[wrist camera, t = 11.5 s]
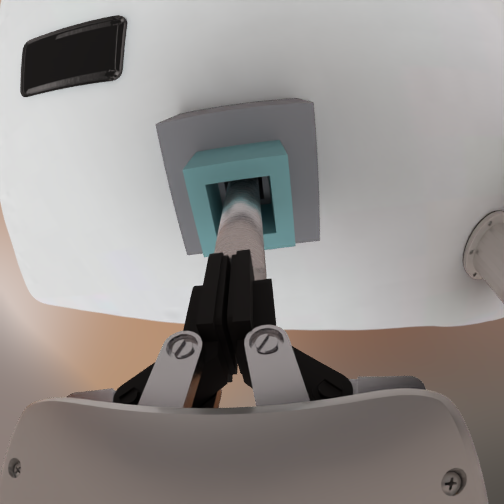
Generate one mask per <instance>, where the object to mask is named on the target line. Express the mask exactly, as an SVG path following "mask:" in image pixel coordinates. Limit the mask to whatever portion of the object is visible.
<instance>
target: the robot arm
mask: <svg viewBox="0 0 504 504" xmlns="http://www.w3.org/2000/svg"><path fill="white" fill-rule="evenodd" d="M464 268H465V270H466V272H467V273H468V275H469V276H470V277H471V278H473V279H484V280H485V281H486V282H487V284H488V285H489V286H490V287H491V288H492V290H493V291H494V292H495V293H496V295H497V296H498V297H499V299H500V300H501V301H502V303H503V304H504V212H503V211H496V212H493V213H491V214H490V215H488V216H487V217H485V218H484V219H483V220H482V221H481V222H480V223H479V224H478V225H477V227H476V228H475V230H474V231H473V233H472V234H471V236H470V238H469V240H468V243H467V245H466V249H465V252H464ZM237 364H238V365H237ZM237 366H239V369H240V373H241V374H242V375H243V379H244V382H245V383H246V384H247V385H248V386H250V387H251V388H252V389H253V392H254V397H255V401H256V407H239V408H219V403H220V399H221V394H222V390H221V388H223V387H224V386H225V385H226V384H227V382H232V375H233V374H237ZM0 504H488V498H487V493H486V489H485V483H484V479H483V475H482V471H481V467H480V463H479V459H478V456H477V453H476V450H475V447H474V444H473V441H472V438H471V435H470V433H469V431H468V428H467V426H466V423H465V421H464V419H463V417H462V415H461V414H460V412H459V410H458V408H457V407H456V406H455V405H454V403H453V402H452V401H451V400H450V399H449V398H448V397H446V396H445V395H443V394H440V393H437V392H433V391H430V390H426V389H425V386H424V384H423V383H422V381H421V380H419V379H418V378H416V377H413V376H391V377H358V379H348V378H346V377H345V376H344V375H342V374H341V373H339V372H337V371H335V370H333V369H331V368H330V367H328V366H326V365H324V364H322V363H321V362H319V361H317V360H315V359H313V358H312V357H310V356H308V355H306V354H305V353H303V352H301V351H299V350H298V349H296V348H294V347H293V346H291V343H290V340H289V337H288V335H287V333H286V332H285V331H284V330H283V329H282V328H280V327H278V326H276V318H275V308H274V298H273V289H272V280H271V279H263V280H255V278H254V271H253V265H252V258H251V252H250V249H248V250H239V251H237V252H236V254H234V255H232V259H231V265H230V260H229V256H228V255H225V256H224V254H223V252H221V253H212V254H209V258H208V263H207V268H206V273H205V278H204V283H203V285H202V286H194V287H193V290H192V294H191V298H190V303H189V307H188V312H187V316H186V321H185V325H184V330H183V331H181V332H177V333H175V334H173V335H171V336H170V337H169V338H167V339H166V341H165V342H164V344H163V346H162V348H161V350H160V353H159V355H158V358H157V360H156V362H155V363H153V364H152V365H150V366H149V367H148V368H146V369H145V370H143V371H142V372H140V373H139V374H137V375H136V376H135V377H133V378H132V379H130V380H129V381H127V382H126V383H124V384H123V385H122V386H120V387H119V388H118V389H117V391H115V390H113V389H112V388H111V389H103V390H95V391H86V392H76V393H72V394H70V395H69V396H67V397H56V398H48V399H43V400H39V401H36V402H34V403H32V404H30V405H29V406H27V407H26V409H25V410H24V411H23V413H22V414H21V416H20V418H19V420H18V422H17V424H16V427H15V429H14V431H13V434H12V437H11V440H10V442H9V446H8V449H7V452H6V456H5V459H4V463H3V467H2V471H1V476H0Z"/></svg>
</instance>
